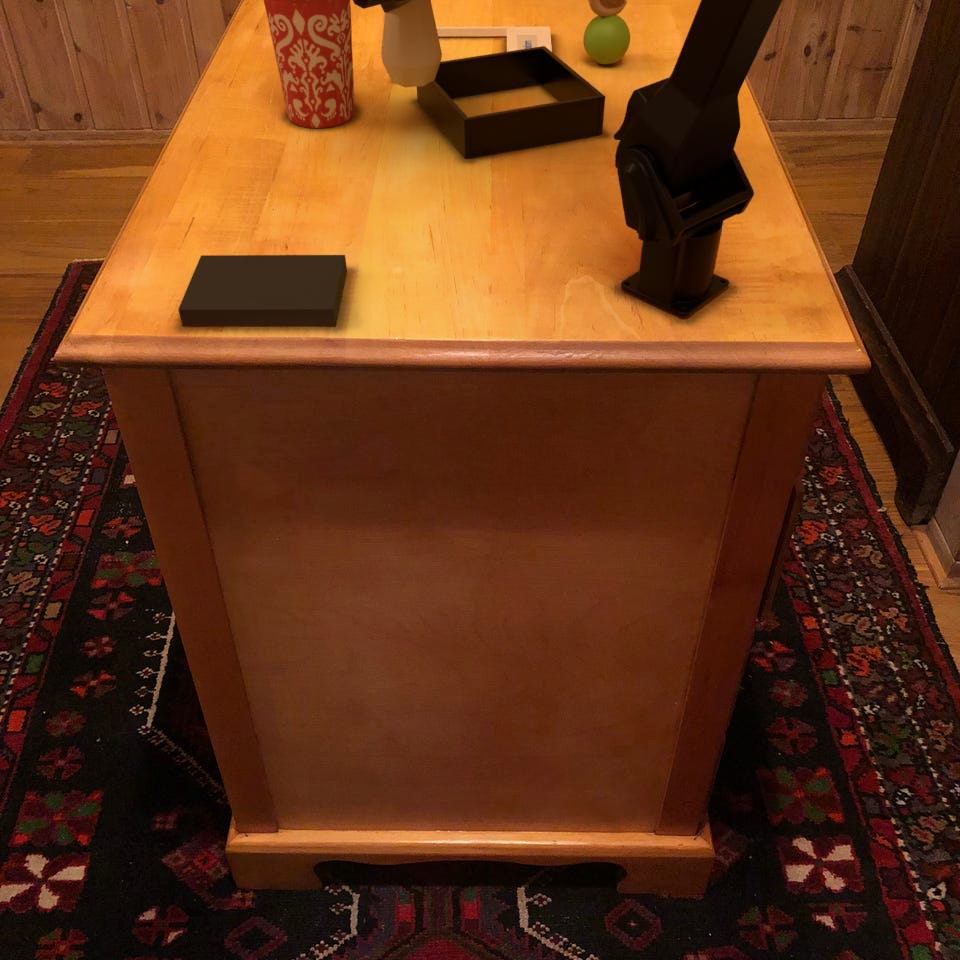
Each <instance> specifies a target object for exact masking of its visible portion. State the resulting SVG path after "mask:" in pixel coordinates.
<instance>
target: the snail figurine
mask: <svg viewBox="0 0 960 960" xmlns="http://www.w3.org/2000/svg"><path fill="white" fill-rule="evenodd" d="M587 1H588V4H589V7H590V9H591V11H592V13H594V15H596V16H595V17H593V18H592V19H591V20H590V21H589V22H588V23H587V26H586V27H585V29H584V31H583V39H582V40H583V41H582V42H583V48H584V51H585V53H586V56H587V57H588V58H589V59H590V60H592V61H593V62H595V63H596V64H599V65H611V64H614V63H616V62H618V61H619V60H621V59H622V58H623V57H624V56H625V55H626V53H627V52H628V49H629V47H630V43H631V32H630V29H629V26H628V24H627V22H626V21H625V20H624V19H623V18H622V17H621V16H620V15H619V14H620V13H621V12H622V11H623V10H624V9H625V7H626V6H627V3H628V1H627V0H587Z"/></svg>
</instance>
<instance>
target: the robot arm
mask: <svg viewBox="0 0 960 960" xmlns="http://www.w3.org/2000/svg"><path fill="white" fill-rule="evenodd" d="M352 1H353V4H354V5H355V6H357V7H359V8H361V9H363V10H365V9H369V8H372V7H377V6H379V5H380V6H381V9H382V11H383V12H384V13H385V12H386V13H387V12H389V11H392V10H394V9H397V8H399V7H401V6H403V5H405V4H407V3H408V2H410V1H412V0H352ZM782 2H783V0H700V2H699V5H698V7H697V10H696V12H695V14H694V17H693V19H692V22H691V23H690V27H689V29H688V32H687V34H686V36H685V40H684V42H683V43H682V44H683V45H682V46H681V49H680V52H679V55H678V57H677V59H676V61H675V64H674V67H673V70H672V72H671V74H670V75H669V77H666V78H663V79H660V80H658V81H655V82H653V83H650V84H647V85H644V86H642V87H640V88H637V89H634V90H633V91H632V93H631V95H630V97H629V99H628V101H627V104H626V109H625V113H624V119H623V121H622V124H621V126H620V128H619V129H618V130H617V131H616V132H615V133H614V134H613V139H614V140H615V141H619V142H618V145H617V147H616V152H615V156H614V167H615V168H616V170H617V178H618V184H619V190H620V198H621V204H622V209H623V215H624V220H625V221H624V222H625V225H626V227H628V228H630V229H632V230H634V231H635V232H636V234H637V236H638V238H637V239H638V240H640V241H641V242H642V243H641V249H640V250H641V251H640V258H639V268H638V270H637V271H636V272H634V273H633V274H631V275H630V276H628V277H626V278H625V279H623V280H622V281H621V283H620V289H621V291H623V292H626V293H627V294H630V295H632V296H633V297H636V298H639V299H640V300H642V301H646V303H649V304H651V305H654V306H656V307H657V308H660V309H662V310H665V311H666V312H669V313H671V314H672V315H675V316H677V317H679V318H688V317H690V316H691V315H693V314H694V313H695V312H697V311H698V310H699V309H701V308H702V307H703V306H705V305H706V304H708V303H709V302H710V301H712V300H713V299H714V298H716V297H717V296H719V295H720V294H721V293H723V292H724V291H726V290H727V289H728V288H729V287H730V286H729V285H730V281H729V279H727V278H724V277H722V276H720V275H718V274H715V273H714V272H715V269H716V265H717V259H718V254H719V248H720V243H721V237H722V232H723V226H724V221H726V220H728V219H731V218H732V217H734V216H736V215H737V216H739V215H741V214H743V213H744V212H745V211H746V210H747V207H748V206H749V205H750V203H751V201H752V199H753V198H754V196H755V190H754V188H753V186H752V185H751V182H750V180H749V178H748V176H747V173H746V172H745V170H744V168H743V166H742V164H741V161H740V160H739V157H738V155H737V154H736V151H735V146H736V143H737V139H738V136H739V133H740V131H741V116H740V106H739V94H740V91H741V89H742V86H743V84H744V82H745V80H746V78H747V76H748V73H749V71H750V70H751V68H752V65H753V63H754V61H755V59H756V57H757V55H758V52H759V51H760V48H761V46H762V44H763V42H764V40H765V38H766V36H767V34H768V32H769V31H770V30H769V29H770V27H771V26H772V24H773V22H774V19H775V17H776V15H777V13H778V11H779V8H780V6H781V4H782Z"/></svg>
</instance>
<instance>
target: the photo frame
mask: <svg viewBox="0 0 960 960" xmlns="http://www.w3.org/2000/svg"><path fill="white" fill-rule="evenodd" d="M436 28H437V33H438V37H506V52H508V51H515V50H521V49H528V48H535V47H541V46H545V47H546V48H547V49H549V50H550V51H551V52H552V53H553V48H552V38H551V37H552V36H551V28H550V26H436Z"/></svg>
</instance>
